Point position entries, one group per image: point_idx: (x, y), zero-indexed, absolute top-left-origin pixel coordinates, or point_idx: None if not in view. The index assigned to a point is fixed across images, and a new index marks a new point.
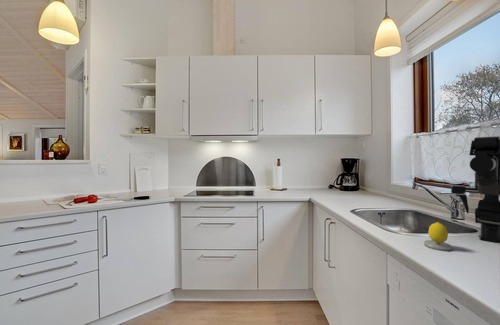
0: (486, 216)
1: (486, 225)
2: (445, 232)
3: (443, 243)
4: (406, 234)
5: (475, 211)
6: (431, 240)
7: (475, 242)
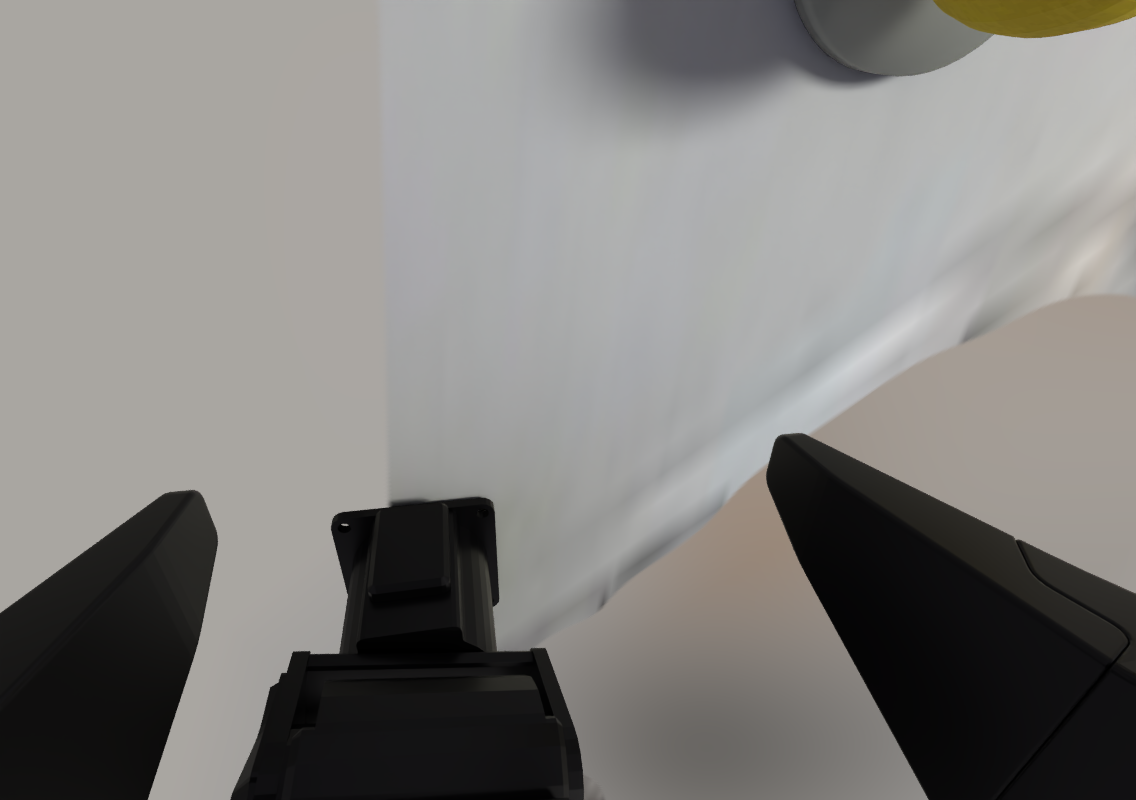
0: (463, 708)
1: (455, 624)
2: None
3: (868, 1)
4: (1075, 231)
5: (577, 768)
6: (963, 49)
7: (530, 398)
